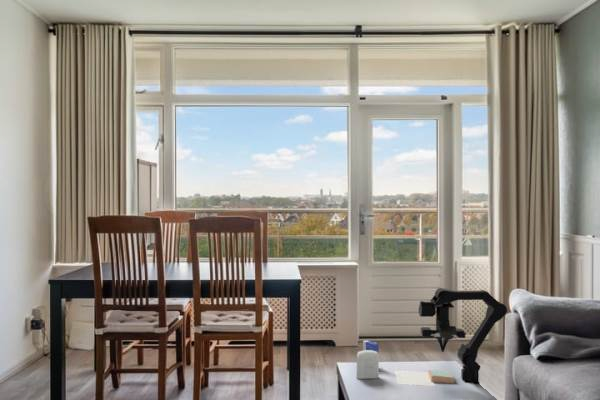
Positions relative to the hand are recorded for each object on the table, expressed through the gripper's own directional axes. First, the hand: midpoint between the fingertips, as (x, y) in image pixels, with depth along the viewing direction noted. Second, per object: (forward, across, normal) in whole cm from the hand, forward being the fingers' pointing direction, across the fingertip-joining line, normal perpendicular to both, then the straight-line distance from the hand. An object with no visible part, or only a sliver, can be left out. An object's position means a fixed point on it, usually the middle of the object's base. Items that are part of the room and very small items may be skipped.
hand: (442, 351), depth 200 cm
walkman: (+13, -32, +14) cm, 37 cm away
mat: (+13, -12, 0) cm, 18 cm away
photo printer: (+13, -34, -1) cm, 36 cm away
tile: (+11, -6, 0) cm, 12 cm away
